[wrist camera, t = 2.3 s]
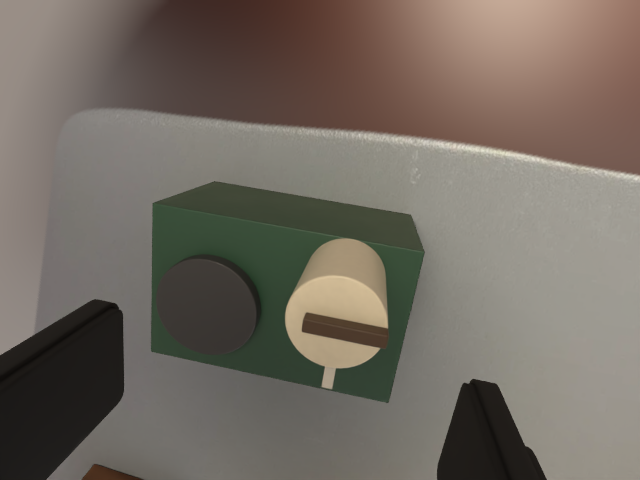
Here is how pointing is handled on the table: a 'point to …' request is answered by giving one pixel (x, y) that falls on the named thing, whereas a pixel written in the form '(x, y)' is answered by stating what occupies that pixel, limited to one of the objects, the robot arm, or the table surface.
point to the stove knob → (340, 305)
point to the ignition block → (106, 474)
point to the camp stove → (267, 280)
